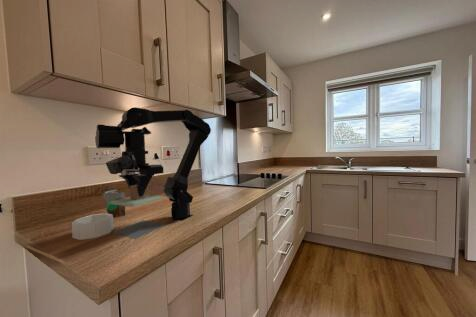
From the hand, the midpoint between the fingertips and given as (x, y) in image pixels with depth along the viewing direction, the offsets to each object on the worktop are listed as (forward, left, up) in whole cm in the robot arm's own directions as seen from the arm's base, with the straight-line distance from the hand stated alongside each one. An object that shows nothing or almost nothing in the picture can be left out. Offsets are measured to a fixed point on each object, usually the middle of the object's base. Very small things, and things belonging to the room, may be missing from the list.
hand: (137, 195), depth 65 cm
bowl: (+8, -11, -11) cm, 18 cm away
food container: (-6, -24, -11) cm, 27 cm away
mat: (0, 0, -11) cm, 11 cm away
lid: (0, 0, -2) cm, 2 cm away
